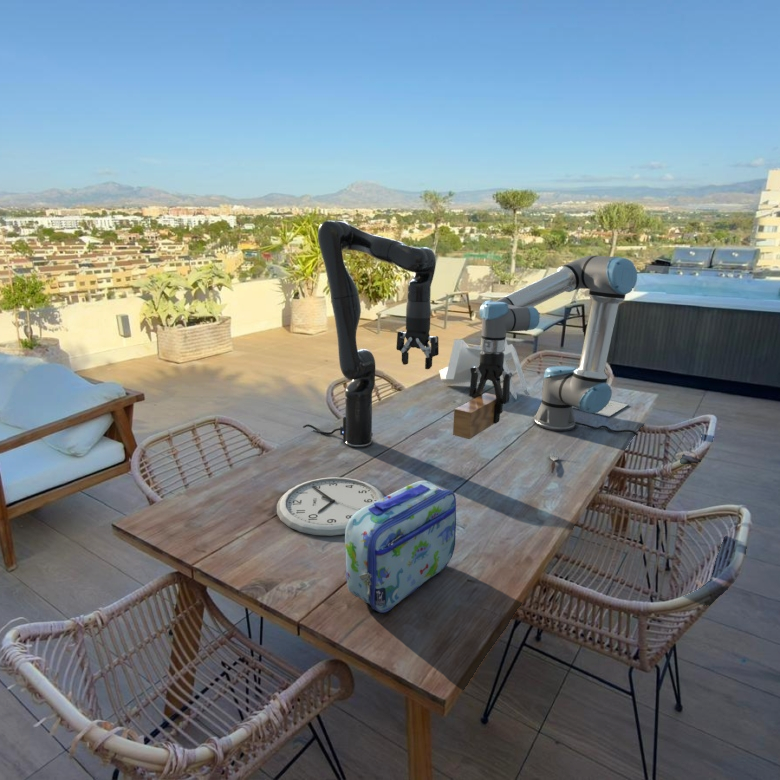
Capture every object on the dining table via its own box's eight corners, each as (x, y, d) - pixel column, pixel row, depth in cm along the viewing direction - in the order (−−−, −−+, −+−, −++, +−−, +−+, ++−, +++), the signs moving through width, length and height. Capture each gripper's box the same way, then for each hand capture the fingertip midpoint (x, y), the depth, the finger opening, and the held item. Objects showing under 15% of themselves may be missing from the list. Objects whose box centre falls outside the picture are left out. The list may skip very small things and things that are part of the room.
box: (483, 416, 176) (485, 392, 174) (499, 420, 173) (501, 396, 170) (452, 434, 160) (454, 408, 158) (469, 439, 157) (471, 413, 155)
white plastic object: (461, 429, 252) (437, 405, 227) (444, 352, 274) (420, 323, 250) (535, 404, 240) (518, 377, 215) (510, 326, 262) (492, 293, 237)
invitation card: (608, 416, 214) (573, 407, 224) (608, 416, 214) (573, 408, 224) (628, 404, 229) (594, 396, 238) (628, 405, 229) (594, 397, 238)
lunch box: (374, 626, 100) (375, 530, 93) (338, 598, 107) (337, 508, 101) (459, 568, 117) (465, 484, 111) (424, 547, 124) (427, 467, 118)
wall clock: (392, 527, 129) (268, 531, 127) (391, 533, 130) (269, 537, 127) (383, 473, 158) (282, 475, 155) (383, 478, 158) (282, 480, 156)
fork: (547, 473, 163) (548, 467, 163) (550, 454, 177) (551, 448, 177) (556, 475, 162) (556, 469, 162) (558, 455, 177) (559, 449, 176)
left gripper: (392, 314, 161) (391, 365, 166) (431, 319, 153) (429, 372, 158) (406, 311, 167) (404, 360, 171) (444, 316, 159) (442, 368, 163)
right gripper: (460, 349, 168) (456, 416, 175) (515, 358, 157) (508, 430, 164) (471, 345, 173) (467, 411, 180) (525, 353, 163) (518, 423, 170)
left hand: (416, 366), depth 165 cm, fingers open, 8 cm apart
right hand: (487, 420), depth 172 cm, fingers closed on box, 6 cm apart
